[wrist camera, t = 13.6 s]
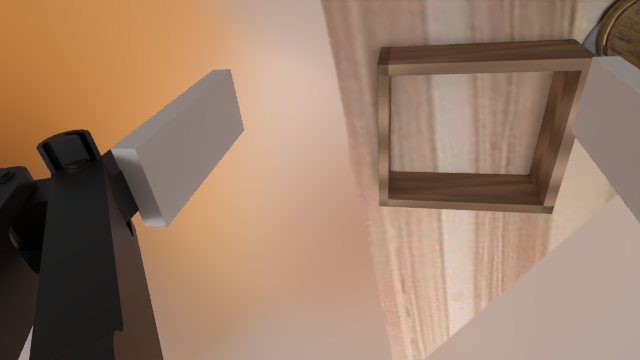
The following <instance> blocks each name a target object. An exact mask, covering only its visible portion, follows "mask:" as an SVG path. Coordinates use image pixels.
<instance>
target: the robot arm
mask: <svg viewBox="0 0 640 360" xmlns="http://www.w3.org/2000/svg"><path fill="white" fill-rule="evenodd" d="M243 131H244V128H243V123H242V119H241V114H240V110H239V106H238V101H237V97H236V92H235V88H234V83H233V79H232V74H231V70H230V69H226V70H213V71H211V72H210V73H209V74H207V75H206V76H205V77H203V78H202V79H201V80H199V81H198V82H197V83H195V84H194V85H193V86H191V87H190V88H189V89H188V90H186V91H185V92H184V93H182V94H181V95H180V96H178V97H177V98H176V99H175V100H173V101H172V102H171V103H169V104H168V105H167V106H165V107H164V108H163V109H161V110H160V111H159V112H157V113H156V114H155V115H154V116H152V117H151V118H150V119H148V120H147V121H146V122H144V123H143V124H142V125H141V126H139V127H138V128H137V129H135V130H134V131H132V132H131V133H130V134H129V135H127V136H126V137H125V138H123V139H122V140H121V141H119V142H118V143H117V144H115V145H114V146H113V147H111V149H110V150H109V151H107V152H106V153H104V154H103V155H102V156H101V155H100V153H99V150H98V148H97V146H96V144H95V142H94V140H93V138H92V136H91V133H90V132H89V131H88V130H83V129H82V130H71V131H66V132H63V133H59V134H56V135H54V136H51V137H49V138H47V139H45V140H44V141H42V142H41V143H39V145H38V146H37V150H38V151H39V153H40V155H41V157H42V159H43V160H44V161H45V164H46V165H47V167H48V169H49V171H50V172H51V178H46V179H39V180H34V179H33V178H32V176H31V174H30V173H29V171H28V170H27V168H26V167H22V166H15V167H8V168H0V360H18V359H19V356H20V354H21V351H22V349H23V347H24V345H25V342H26V340H27V338H28V336H29V333H30V331H31V328H32V326H33V332H32V340H31V349H30V357H29V360H163V355H162V351H161V346H160V341H159V337H158V332H157V327H156V323H155V318H154V314H153V309H152V304H151V299H150V295H149V290H148V285H147V281H146V276H145V271H144V267H143V262H142V258H141V253H140V248H139V243H138V238H137V234H136V229H135V227H134V224H133V222H132V220H131V218H132V217H133V216H134V215H135V214H136V213H137V212H138V211H139V213H140V215H141V217H142V220H143V221H144V224H145V226H157V227H168V226H169V224H170V223H171V222H172V221H173V219H174V218H175V217H176V215H177V214H178V213H179V212H180V210H181V209H182V208H183V207H184V205H185V204H186V203H187V202H188V200H189V199H190V198H191V197H192V195H193V194H194V192H195V191H196V190H197V189H198V188H199V186H200V185H201V184H202V183H203V181H204V180H205V179H206V177H207V176H208V175H209V174H210V173H211V171H212V170H213V169H214V168H215V166H216V165H217V164H218V162H219V161H220V160H221V159H222V157H223V156H224V155H225V154H226V152H227V151H228V150H229V148H230V147H231V146H232V145H233V144H234V142H235V141H236V140H237V139H238V137H239V136H240V135H241V133H242V132H243ZM571 132H572V133H573V134H574V136H575V137H576V138H577V140H578V141H579V142H580V144H581V145H582V146H583V148H584V149H585V150H586V152H587V153H588V154H589V156H590V157H591V158H592V160H593V161H594V162H595V164H596V165H597V166H598V168H599V169H600V170H601V172H602V173H603V174H604V176H605V177H606V178H607V180H608V181H609V182H610V184H611V185H612V186H613V188H614V189H615V190H616V192H617V193H618V195H619V196H620V197H621V198H622V200H623V201H624V202H625V204H626V205H627V207H628V208H629V209H630V210H631V212H632V213H633V214H634V216H635V217H636V219H637V220H638V221H639V223H640V69H638V68H637V67H635V66H634V65H632V64H631V63H629V62H628V61H626V60H624V59H623V58H621V57H620V56H607V57H593V59H592V63H591V66H590V69H589V73H588V76H587V80H586V83H585V86H584V90H583V93H582V96H581V100H580V103H579V107H578V110H577V113H576V117H575V120H574V123H573V127H572V130H571Z"/></svg>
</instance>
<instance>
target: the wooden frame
mask: <svg viewBox="0 0 640 360" xmlns="http://www.w3.org/2000/svg"><path fill="white" fill-rule="evenodd" d="M593 57H598V56H596V55H595V54H594V53H592V52H591V51H590V50H588V49H587V48H586V47H584V46H583V45H582V44H580V43H579V42H578V41H576V40H575V39H570V40H547V41H524V42H501V43H478V44H455V45H432V46H408V47H385V48H381V53H380V57H379V61H378V149H379V206H388V207H410V208H432V209H455V210H477V211H499V212H521V213H543V214H552V212H553V208H554V205H555V202H556V199H557V195H558V192H559V189H560V185H561V182H562V179H563V176H564V172H565V169H566V166H567V163H568V159H569V156H570V153H571V150H572V146H573V143H574V140H575V136H574V134H573V133H572V132H571V130H572V127H573V123H574V120H575V117H576V113H577V110H578V107H579V103H580V100H581V96H582V93H583V90H584V86H585V83H586V80H587V76H588V73H589V69H590V66H591V63H592V59H593ZM541 71H555V73H554V77H553V81H552V86H551V90H550V94H549V98H548V102H547V106H546V110H545V114H544V118H543V122H542V126H541V130H540V134H539V138H538V142H537V146H536V150H535V154H534V158H533V162H532V167H531V171H530V175H506V174H467V173H428V172H390V166H391V76H396V75H433V74H469V73H505V72H541Z"/></svg>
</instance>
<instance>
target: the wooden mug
mask: <svg viewBox="0 0 640 360" xmlns="http://www.w3.org/2000/svg"><path fill="white" fill-rule="evenodd" d="M595 45H596V55H597V56H598V57H607V56H620V57H621V58H623V59H624V60H626V61H628V62H629V63H631V64H632V65H634V66H635V67H637V68H638V69H640V0H620V1H619V2H618V3H616V4H615V5H614V6H613V7H612V8H611V9H610V10H609V11H608V12H607V14H606V16H605V17H604V19H603V20H602V22H601V24H600V27H599V29H598V32H597V36H596V42H595Z"/></svg>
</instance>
